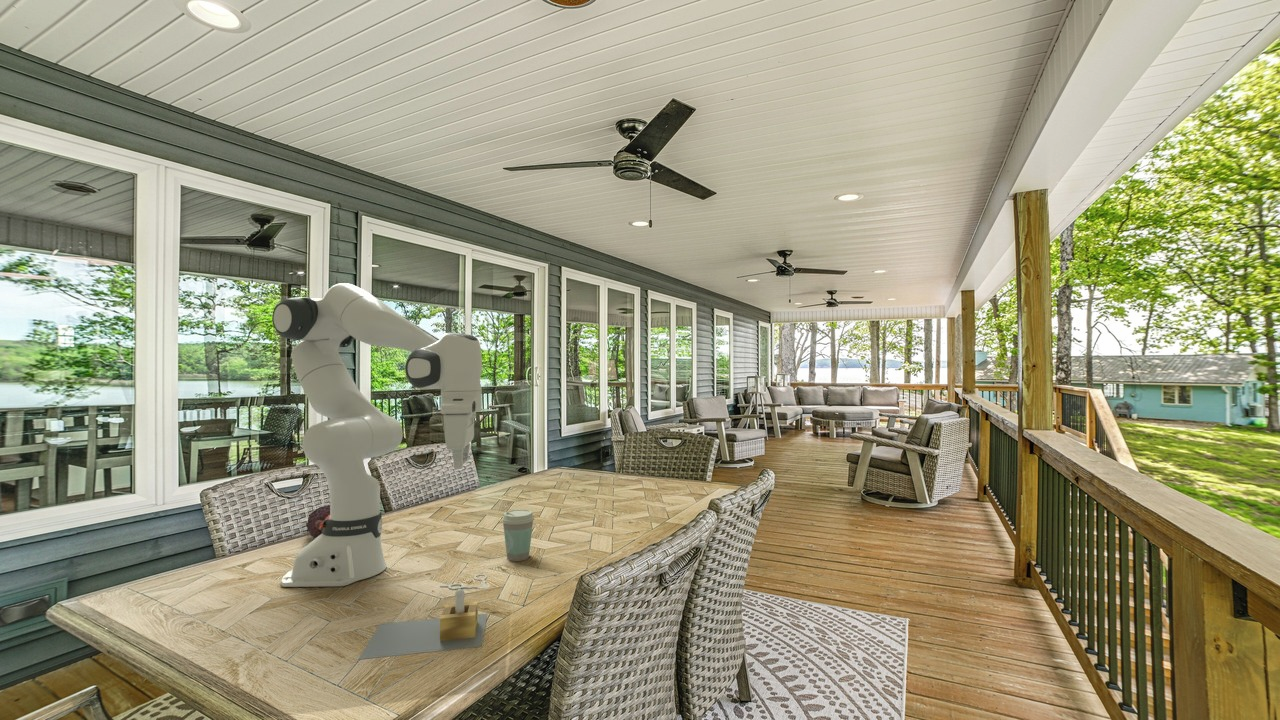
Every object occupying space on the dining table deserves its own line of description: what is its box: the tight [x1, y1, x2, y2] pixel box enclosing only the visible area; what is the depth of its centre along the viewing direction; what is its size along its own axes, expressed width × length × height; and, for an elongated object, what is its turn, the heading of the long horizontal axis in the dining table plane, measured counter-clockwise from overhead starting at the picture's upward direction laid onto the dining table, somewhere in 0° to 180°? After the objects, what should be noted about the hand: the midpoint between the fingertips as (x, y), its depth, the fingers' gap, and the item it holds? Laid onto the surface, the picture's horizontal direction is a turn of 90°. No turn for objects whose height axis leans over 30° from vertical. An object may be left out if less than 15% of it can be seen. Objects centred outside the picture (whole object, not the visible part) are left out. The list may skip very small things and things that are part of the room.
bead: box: [439, 600, 479, 641], centre depth 98 cm, size 6×6×4 cm
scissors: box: [439, 573, 521, 596], centre depth 121 cm, size 11×1×20 cm
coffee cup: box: [501, 509, 535, 562], centre depth 142 cm, size 8×9×12 cm
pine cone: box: [305, 504, 330, 540], centre depth 159 cm, size 18×10×10 cm, turn 50°
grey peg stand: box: [357, 589, 489, 661], centre depth 97 cm, size 20×13×9 cm, turn 102°
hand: (461, 464), depth 118 cm, fingers open, 8 cm apart
